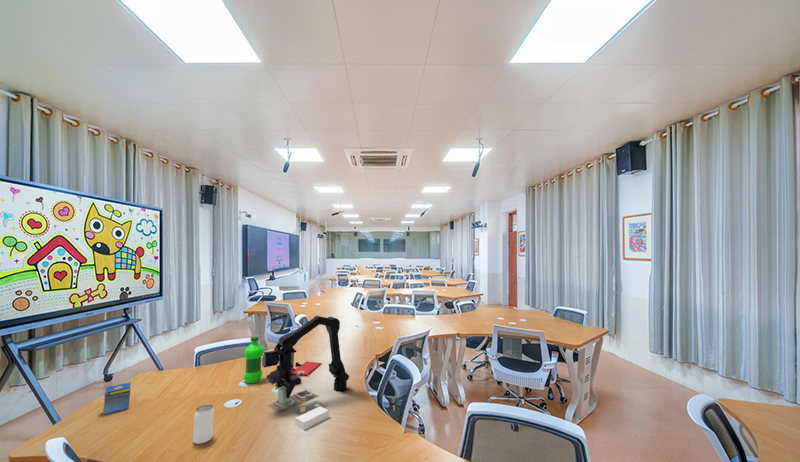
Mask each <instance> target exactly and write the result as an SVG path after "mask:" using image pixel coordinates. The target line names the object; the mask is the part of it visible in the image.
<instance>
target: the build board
mask: <svg viewBox="0 0 800 462" xmlns="http://www.w3.org/2000/svg"><path fill="white" fill-rule="evenodd" d="M318 397H319V395H318V394H316V393H314V392H313V391H310V390H308V389H303V390H301V391H299V392H295V393H293V394H292V395H290V402H289V403H287V404H285V405H280V404H278V399H277V400H275V401H272V403H271V404H268V405H267V407H268V408H270V409H271V410H273V411H275V412H277V413H278V414H282V413H283V412H285V411H288V410H290V409H292V408H295V407H297V406H300V405H302V404H304V403H306V402H309V401H311V400H314V399H315V398H318Z"/></svg>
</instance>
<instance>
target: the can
mask: <svg viewBox="0 0 800 462" xmlns="http://www.w3.org/2000/svg"><path fill="white" fill-rule="evenodd" d="M195 410H196V411H195V412H194V420H193V421H194V422H193V436H192V437H193V439H192V441H193V443H194V444H195V445H202V444H205V443H208V442H209V441H210V440H212V438H213V434H214V433H213V432H214V418H215V417H214V416H215V409H214V406H213V404H203V405H201V406H198V407H197V408H196V409H195Z"/></svg>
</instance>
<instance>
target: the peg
mask: <svg viewBox="0 0 800 462" xmlns="http://www.w3.org/2000/svg"><path fill="white" fill-rule="evenodd" d="M277 390H278V392H277V400H278V404H280V405H285V404H287V403H289V402H290V397H289V398H287V396H286V387H284V386H282V387H280V388H278V387H277Z"/></svg>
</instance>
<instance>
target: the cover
mask: <svg viewBox="0 0 800 462" xmlns="http://www.w3.org/2000/svg"><path fill="white" fill-rule="evenodd" d="M329 411H330V410H328V409H327V408H326V407H325V408H323V407H321V406H320V407H318V408H315V409H313V410H311V411H309V412H307V413H305V414H303V415H300V416H298V415H297V417H295V419H294V420H295V421H294V426H296V427H298V428H299V429H300V430H303V431H305V430H307V429H309V428H311V427H313V426H315V425H317V424H318V423H321V422H322V421H325V420H326V419H329V417H330V412H329Z"/></svg>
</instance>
